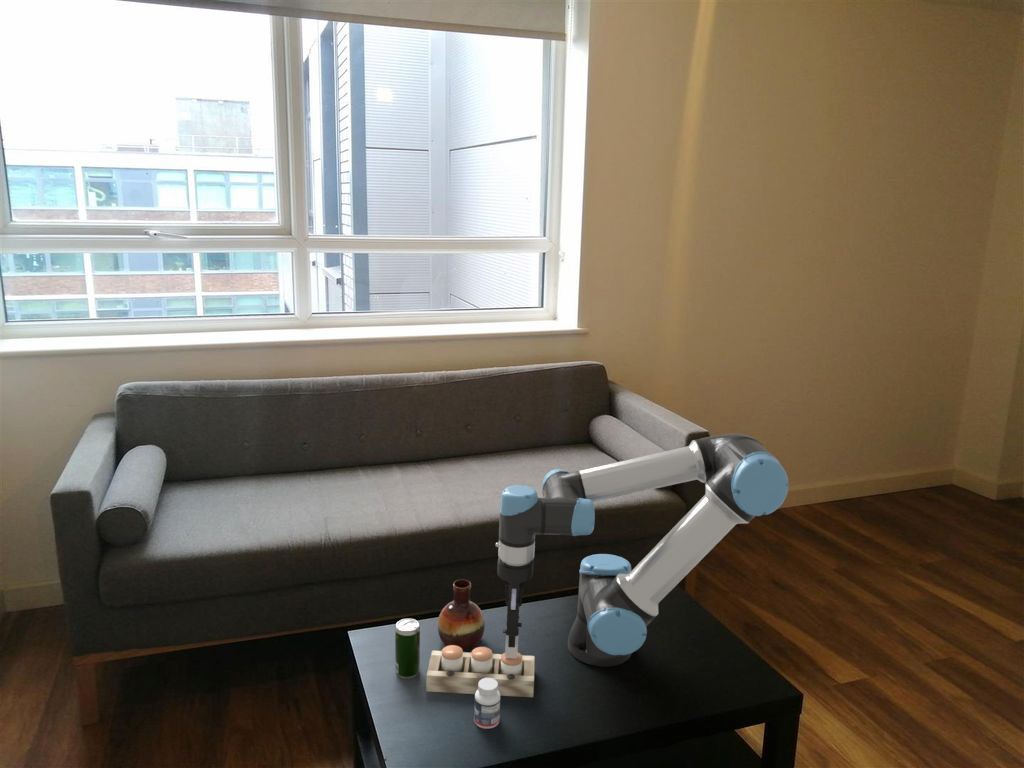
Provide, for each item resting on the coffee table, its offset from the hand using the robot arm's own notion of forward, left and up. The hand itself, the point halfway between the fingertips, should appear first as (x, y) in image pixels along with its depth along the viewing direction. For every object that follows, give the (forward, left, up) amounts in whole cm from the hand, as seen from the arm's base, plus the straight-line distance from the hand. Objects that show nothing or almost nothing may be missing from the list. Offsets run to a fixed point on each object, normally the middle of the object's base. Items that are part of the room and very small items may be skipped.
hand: (511, 656), depth 173 cm
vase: (+12, -15, -7) cm, 20 cm away
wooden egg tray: (+6, 0, -7) cm, 9 cm away
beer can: (+23, -2, -7) cm, 24 cm away
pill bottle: (+4, +13, -7) cm, 15 cm away
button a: (0, 0, -5) cm, 5 cm away
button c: (+13, 0, -4) cm, 13 cm away
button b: (+6, 0, -4) cm, 8 cm away
